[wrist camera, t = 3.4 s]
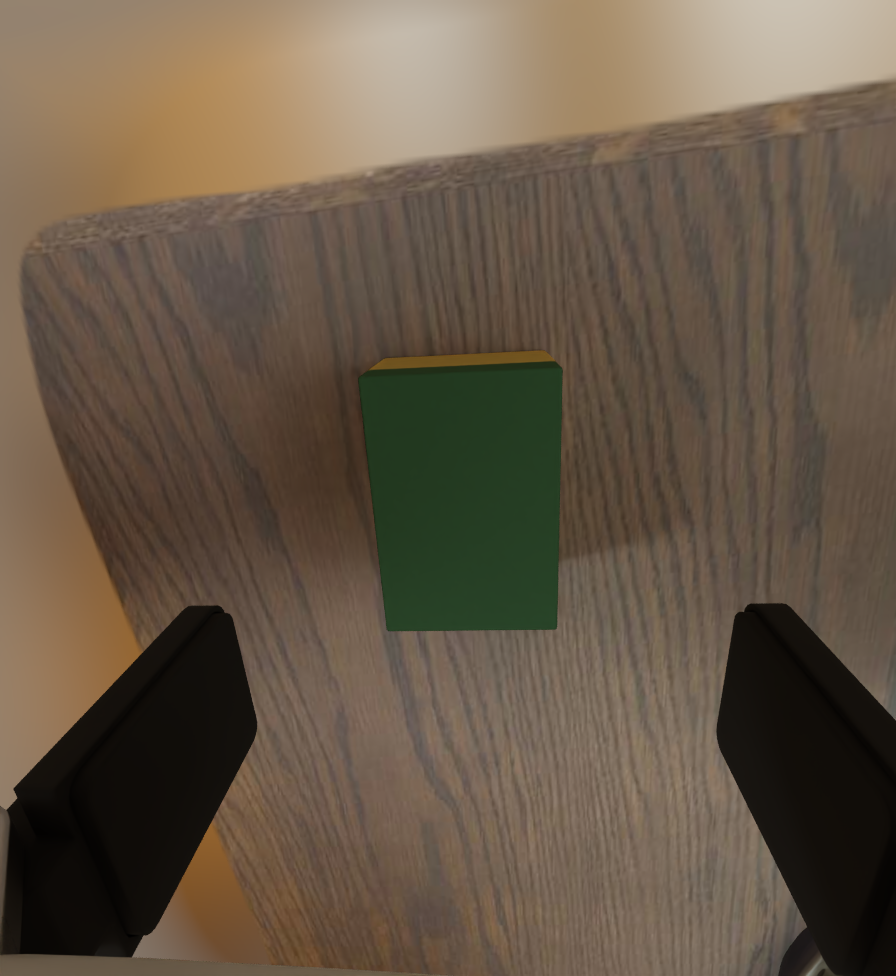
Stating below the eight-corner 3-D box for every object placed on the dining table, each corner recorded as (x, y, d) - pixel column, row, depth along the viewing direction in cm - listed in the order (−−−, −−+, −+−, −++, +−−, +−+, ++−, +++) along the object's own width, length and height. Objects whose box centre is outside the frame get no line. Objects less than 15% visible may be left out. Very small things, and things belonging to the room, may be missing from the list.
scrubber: (543, 566, 22) (557, 630, 18) (404, 569, 23) (386, 632, 19) (545, 349, 19) (562, 367, 15) (383, 357, 20) (357, 376, 15)
